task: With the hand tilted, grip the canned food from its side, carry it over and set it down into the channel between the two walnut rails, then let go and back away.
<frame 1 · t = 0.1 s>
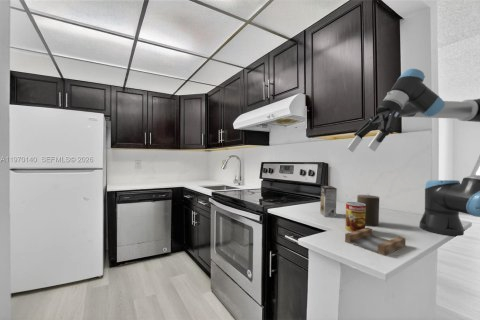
hand: (359, 149, 86), 36 cm above the countertop, tool tilted 35°, fingers open, 13 cm apart
pillar candle: (367, 223, 112), on the countertop
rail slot: (374, 243, 85), on the countertop
canned food: (355, 230, 101), on the countertop
coffee box: (327, 215, 127), on the countertop
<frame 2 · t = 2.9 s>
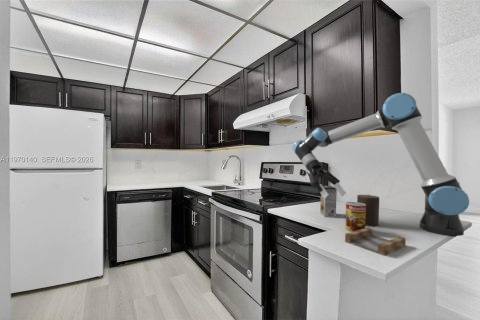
hand: (335, 195, 109), 14 cm above the countertop, tool tilted 45°, fingers open, 13 cm apart
nothing on the countertop moved.
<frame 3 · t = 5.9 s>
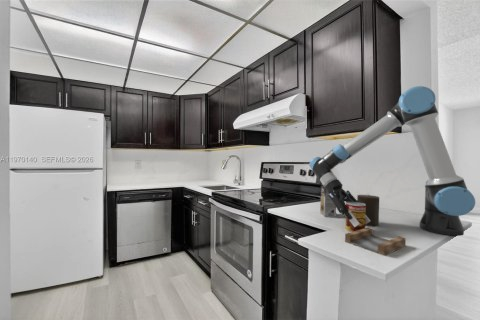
hand: (362, 224, 98), 4 cm above the countertop, tool tilted 45°, fingers closed on canned food, 8 cm apart
canned food: (354, 230, 101), on the countertop, touching gripper
everything else where it was.
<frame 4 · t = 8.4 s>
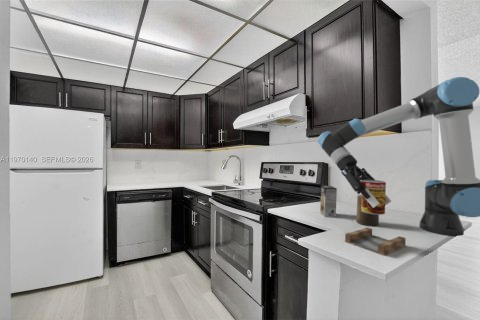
hand: (382, 204, 83), 16 cm above the countertop, tool tilted 45°, fingers closed on canned food, 8 cm apart
canned food: (372, 212, 86), point 12 cm above the countertop, touching gripper
everything else where it was.
when the fingers open (6 cm above the countertop, at t = 10.8 s): canned food drops 1 cm, resting on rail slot.
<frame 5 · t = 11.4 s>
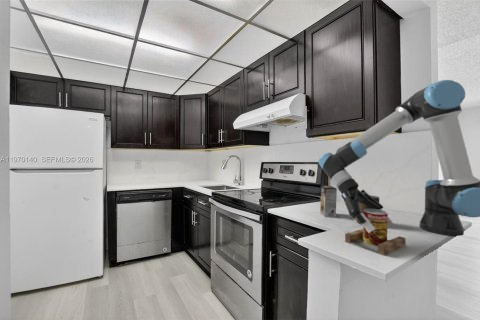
hand: (381, 228, 83), 7 cm above the countertop, tool tilted 45°, fingers open, 13 cm apart
canned food: (374, 242, 85), resting on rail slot
everything else where it was.
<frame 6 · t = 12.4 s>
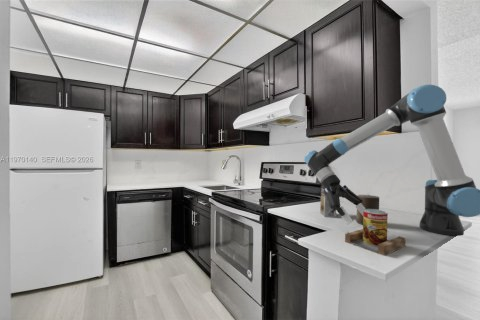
hand: (359, 220, 90), 8 cm above the countertop, tool tilted 45°, fingers open, 13 cm apart
nothing on the countertop moved.
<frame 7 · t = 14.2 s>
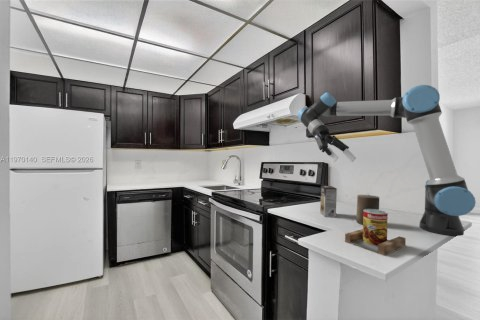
hand: (345, 160, 102), 32 cm above the countertop, tool tilted 45°, fingers open, 13 cm apart
nothing on the countertop moved.
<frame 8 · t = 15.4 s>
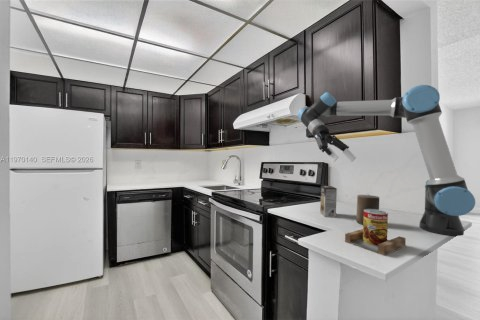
hand: (345, 159, 102), 32 cm above the countertop, tool tilted 45°, fingers open, 13 cm apart
nothing on the countertop moved.
at the end: canned food inside the target area on the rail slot (0.1 cm from its centre), point 0.2 cm above the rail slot's base; canned food tilted 0°; the gripper is holding nothing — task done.
